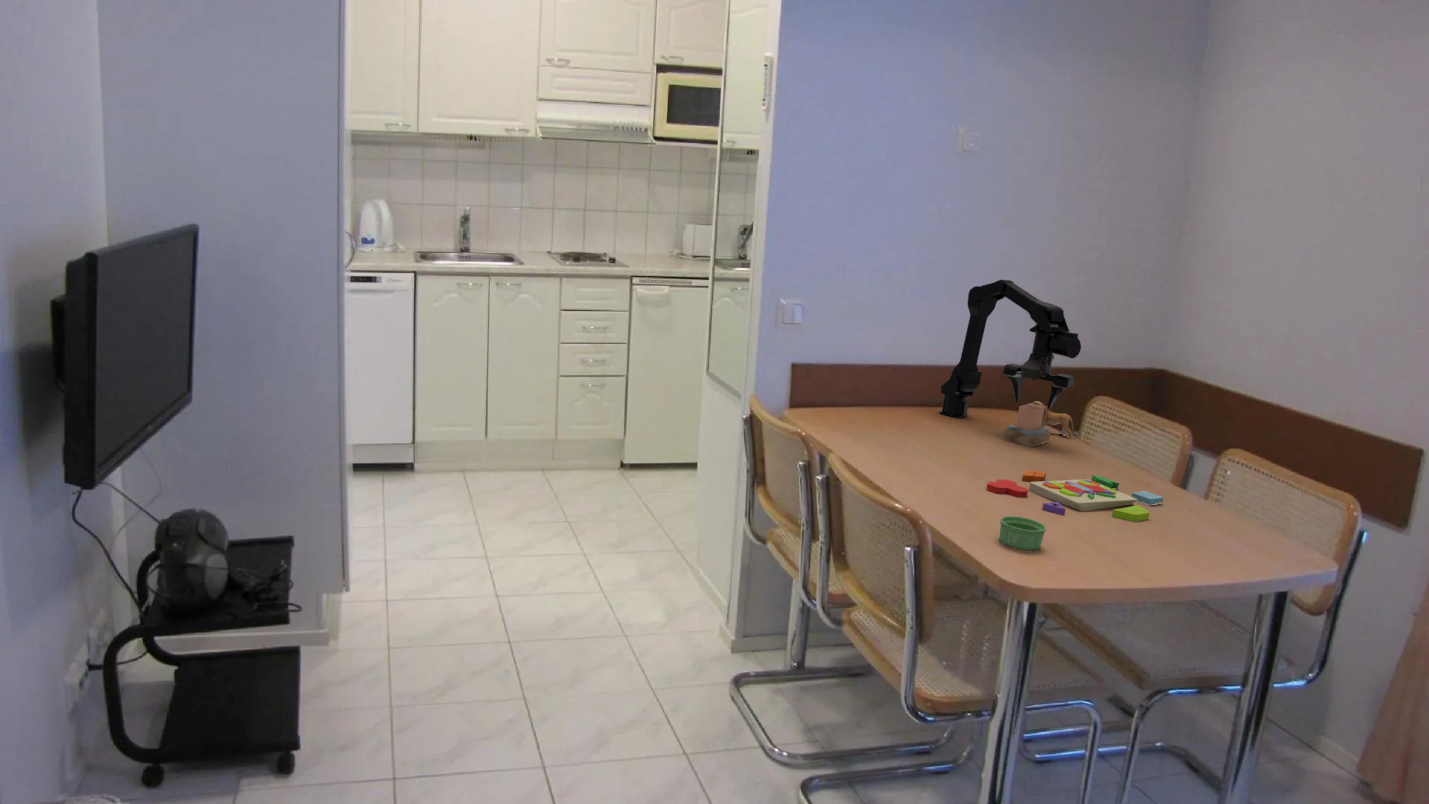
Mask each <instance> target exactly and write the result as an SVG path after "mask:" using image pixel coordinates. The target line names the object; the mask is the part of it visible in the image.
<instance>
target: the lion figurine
mask: <svg viewBox="0 0 1429 804" xmlns="http://www.w3.org/2000/svg"><path fill="white" fill-rule="evenodd" d="M1030 403H1031V404H1035V405H1039V406H1043V407H1045V408H1044V413H1043V418H1042V424H1041V426H1042V427H1045V426H1046V425H1047V424H1048V425H1052V426H1056V425H1060V424H1061V426H1062V427H1061V428H1062V431H1061V432H1060V433H1062V434H1063V435H1064V434H1065V433H1066V432H1067V434H1068V435H1067V436H1068V437H1069V438H1070V439H1071V437H1072V435H1073V437H1075V438H1078V436H1077V434H1076V433H1075V431H1074V424H1073V423H1074V422H1073V419H1072V417H1071V416H1070V415H1069V414H1067V413H1056V412H1053V411H1052V409H1051V408H1050V409H1048V406H1047V405H1045V403H1043V402H1041V401H1039V400H1038V401H1037V400H1035V401H1032V402H1030ZM1069 425H1070V426H1069ZM1070 428H1071V429H1070Z"/></svg>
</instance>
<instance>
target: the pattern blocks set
mask: <svg viewBox="0 0 1429 804" xmlns="http://www.w3.org/2000/svg"><path fill="white" fill-rule="evenodd" d="M1046 476H1047V472H1046V471H1045V472H1044V471H1037V470H1036V471H1035V470H1025V471H1024V472H1023V474H1022V478H1021V482H1028V483H1029V488H1028V487H1024V486H1020V485H1018V482H1016V481H1014V480H1010V479H1006V478H1005V479H997V480H996V481H987V484H986V489H987V491H988V492H990V493H994V494H998V495H999V494H1000V495H1006V494H1007V495H1010V496H1012V497H1015V498H1028V493H1029V492H1031V493H1034V494H1036V495H1038V496H1041V497H1044V498H1047V499H1049V500H1052V501H1053V502H1052V501H1051V502H1043V503H1042V510H1043V511H1046V512H1050V513H1055V514H1058V515H1061V516H1065V513H1066V507H1064V506H1063V505H1065V506H1067V507H1070V508H1073V509H1074V510H1075V509H1076V510H1078V511H1081V512H1089V511H1095V510H1102V509H1109V508H1111V509H1112V508H1116V507H1117V506H1118V507H1122V508H1118V507H1117V508H1116V509H1112V512H1111V514H1112V515H1111V517H1112V518H1117V519H1122V520H1126V521H1130V522H1135V523H1137V522H1141V521H1140V520H1143V521H1147V520H1146V519H1148V520H1149V517H1150V512H1149V511H1148V510H1146V509H1145V508H1143V507H1142V506H1140V505H1134V503H1137V502H1136V501H1137V500H1138V501H1140V502H1144V503H1146V504H1149V505H1151V504H1155V503H1159V502H1162V503H1163V501H1164V496H1160V495H1158V494H1155V493H1152V492H1149V491H1146V490H1143V491H1136V492H1134V491H1133V492H1131V493H1132V494H1131V496H1130V495H1128V494H1126V493H1123V492H1120V491H1118V490H1119V486H1120V482H1117V481H1115V480H1111V479H1108V478H1106V477H1103V476H1100V475H1099V476H1098V475H1094V474H1093V475H1092V476H1091V479H1087V478H1086V479H1067V480H1066V479H1064V480H1046ZM1111 488H1116V489H1118V490H1116V489H1111ZM1130 504H1132V506H1129V505H1130ZM1123 505H1125V506H1127V507H1124V506H1123Z"/></svg>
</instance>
